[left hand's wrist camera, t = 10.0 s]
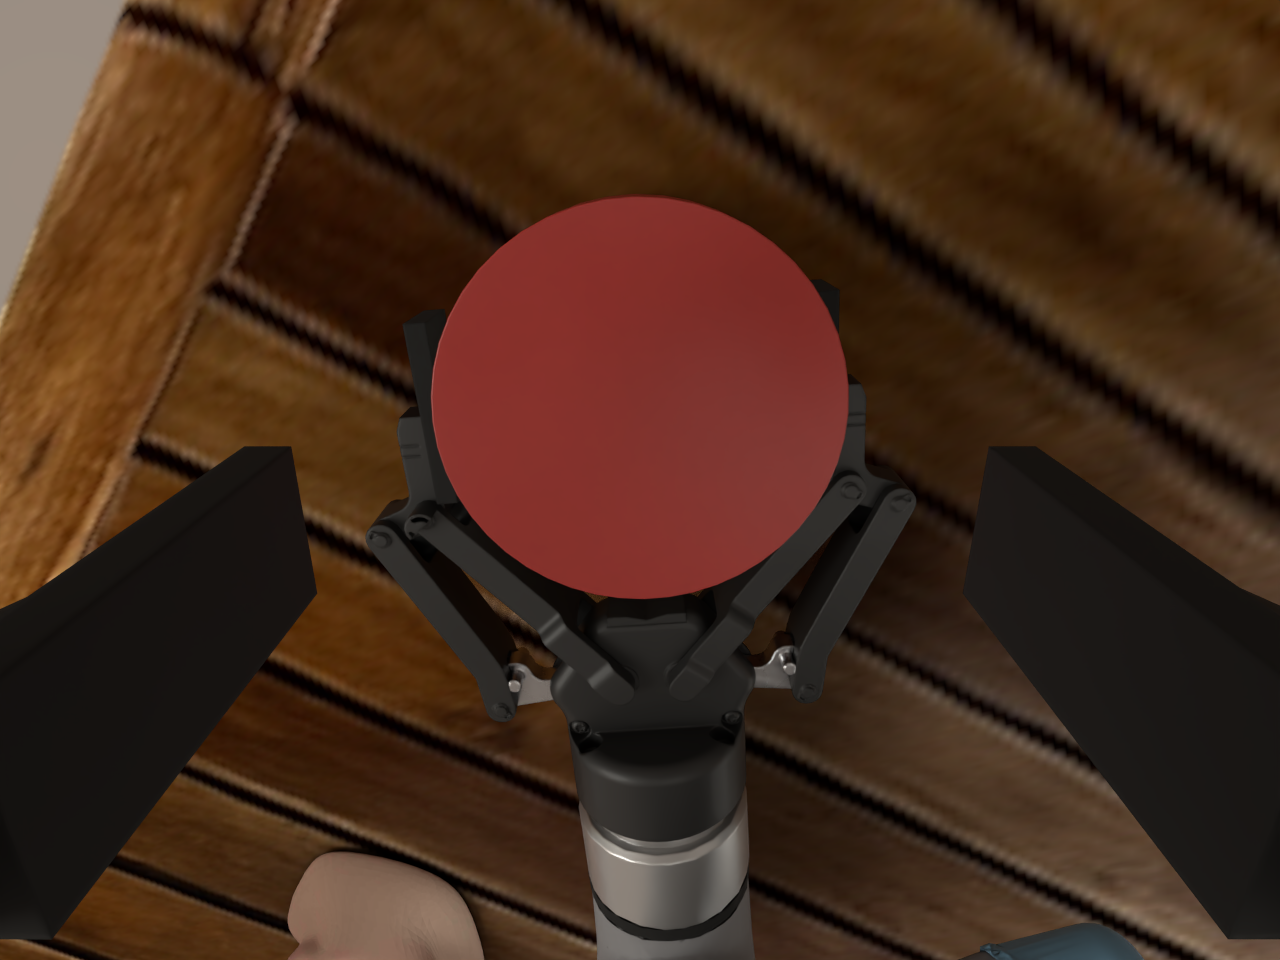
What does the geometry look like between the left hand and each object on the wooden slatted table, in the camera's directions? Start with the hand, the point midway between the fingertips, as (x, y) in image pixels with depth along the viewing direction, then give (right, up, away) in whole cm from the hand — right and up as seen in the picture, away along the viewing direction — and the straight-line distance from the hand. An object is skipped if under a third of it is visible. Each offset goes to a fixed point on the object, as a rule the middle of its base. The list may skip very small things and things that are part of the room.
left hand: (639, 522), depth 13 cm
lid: (0, +2, +6) cm, 6 cm away
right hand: (-1, +7, +14) cm, 15 cm away
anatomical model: (-15, -26, +33) cm, 45 cm away
